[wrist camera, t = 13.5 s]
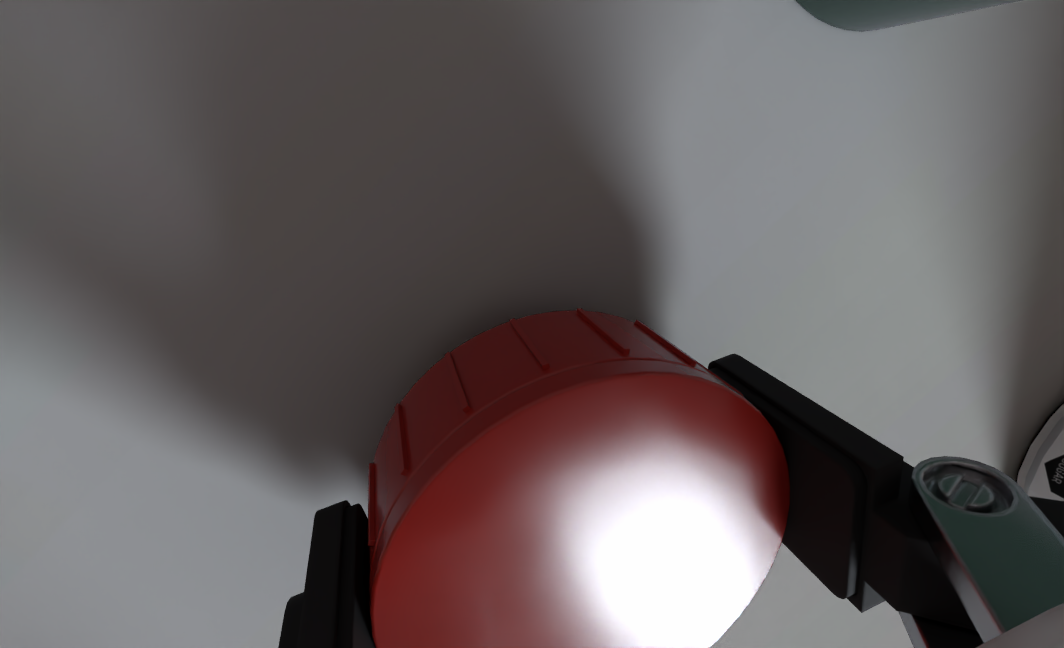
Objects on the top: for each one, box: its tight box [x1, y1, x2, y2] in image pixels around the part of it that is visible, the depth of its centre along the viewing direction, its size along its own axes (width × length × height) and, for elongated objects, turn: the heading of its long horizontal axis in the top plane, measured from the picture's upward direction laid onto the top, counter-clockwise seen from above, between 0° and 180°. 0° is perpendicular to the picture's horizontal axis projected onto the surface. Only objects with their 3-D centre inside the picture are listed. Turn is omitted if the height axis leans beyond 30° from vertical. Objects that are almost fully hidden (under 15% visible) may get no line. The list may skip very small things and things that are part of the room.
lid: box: [368, 308, 790, 648], centre depth 10 cm, size 8×8×3 cm
